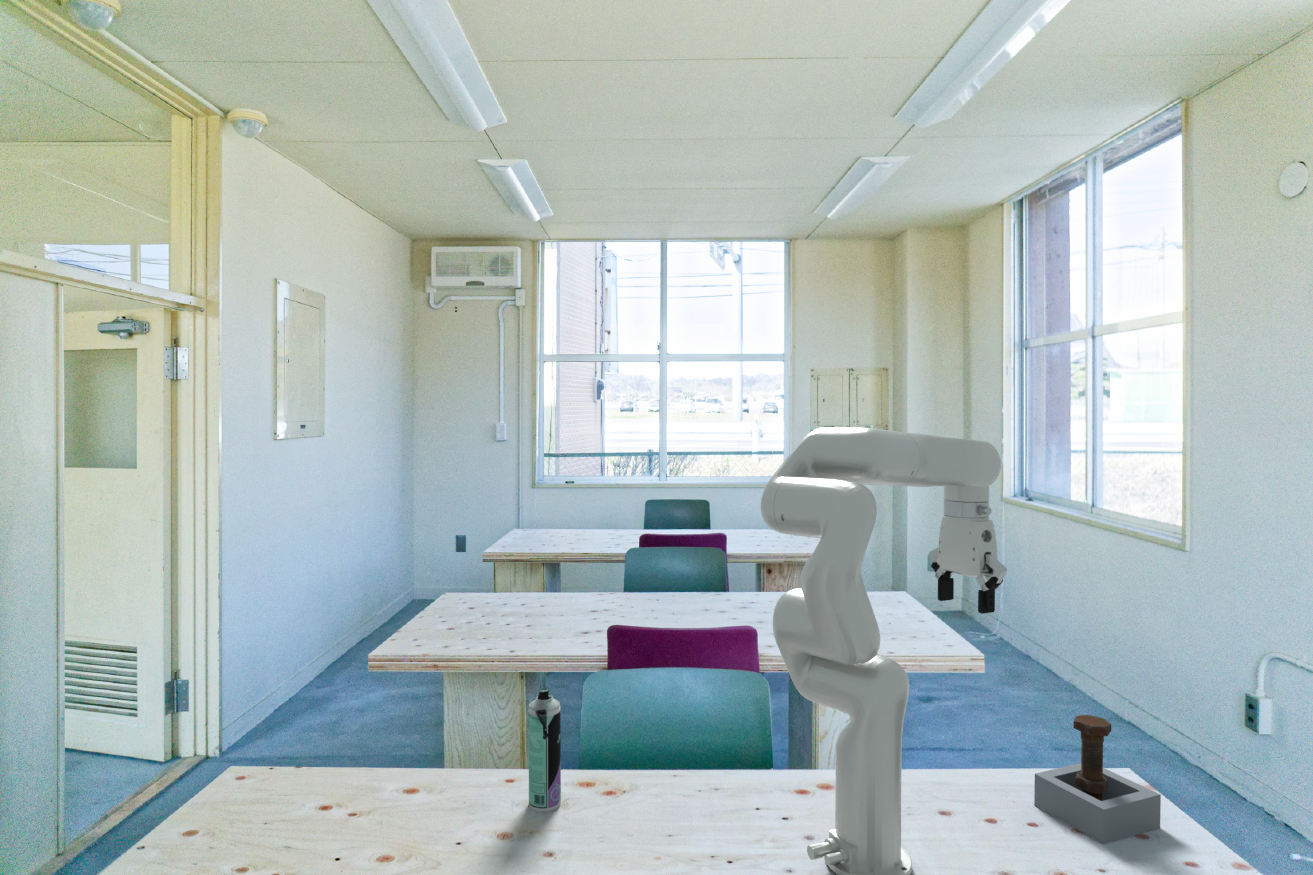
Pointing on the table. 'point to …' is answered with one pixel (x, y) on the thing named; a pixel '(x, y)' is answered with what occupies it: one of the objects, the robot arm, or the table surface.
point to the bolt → (1092, 754)
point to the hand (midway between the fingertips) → (965, 606)
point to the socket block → (1098, 804)
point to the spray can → (544, 753)
